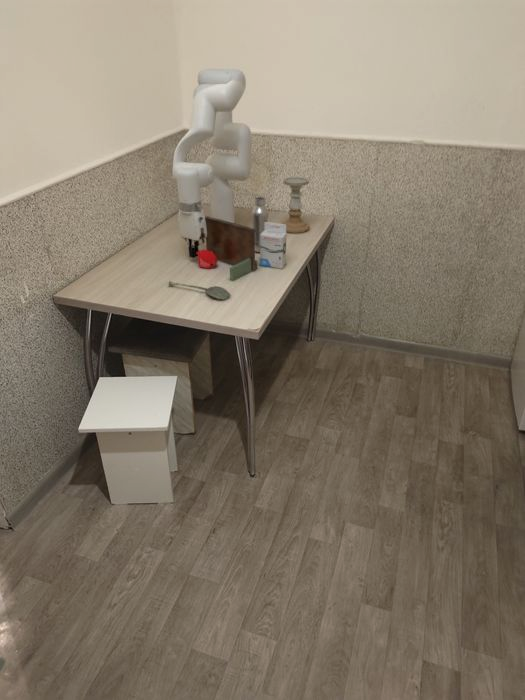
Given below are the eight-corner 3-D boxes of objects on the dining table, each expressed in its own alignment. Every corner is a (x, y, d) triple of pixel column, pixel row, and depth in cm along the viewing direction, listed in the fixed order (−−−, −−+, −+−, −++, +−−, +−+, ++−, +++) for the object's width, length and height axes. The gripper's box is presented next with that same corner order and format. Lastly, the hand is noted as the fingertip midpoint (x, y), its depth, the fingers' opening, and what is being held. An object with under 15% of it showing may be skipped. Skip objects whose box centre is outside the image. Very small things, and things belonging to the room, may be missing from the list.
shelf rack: (186, 265, 184) (183, 224, 176) (211, 254, 192) (209, 214, 184) (235, 281, 172) (233, 238, 164) (258, 269, 181) (258, 227, 173)
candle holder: (314, 227, 218) (316, 178, 208) (300, 235, 210) (302, 185, 199) (289, 222, 224) (290, 175, 213) (274, 230, 215) (275, 181, 204)
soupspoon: (222, 304, 159) (232, 297, 164) (223, 294, 157) (233, 287, 162) (164, 289, 167) (175, 282, 172) (163, 279, 165) (175, 273, 170)
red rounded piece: (220, 264, 184) (219, 248, 181) (214, 270, 180) (213, 254, 176) (200, 261, 186) (199, 246, 183) (193, 267, 182) (192, 252, 178)
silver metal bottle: (271, 249, 197) (271, 197, 186) (264, 255, 192) (264, 202, 181) (256, 246, 199) (255, 195, 188) (248, 252, 194) (247, 199, 183)
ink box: (259, 266, 183) (259, 226, 175) (263, 260, 187) (263, 221, 179) (282, 269, 181) (282, 228, 173) (286, 263, 185) (287, 224, 177)
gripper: (213, 207, 174) (216, 258, 184) (182, 199, 182) (187, 248, 191) (198, 212, 169) (201, 264, 179) (167, 204, 177) (172, 254, 186)
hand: (194, 256), depth 185 cm, fingers closed
